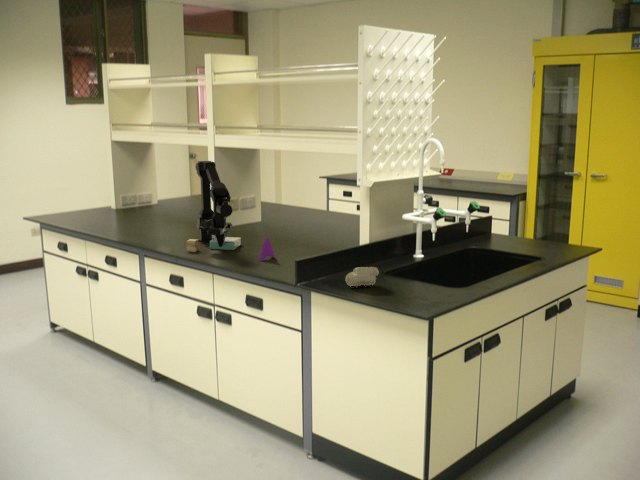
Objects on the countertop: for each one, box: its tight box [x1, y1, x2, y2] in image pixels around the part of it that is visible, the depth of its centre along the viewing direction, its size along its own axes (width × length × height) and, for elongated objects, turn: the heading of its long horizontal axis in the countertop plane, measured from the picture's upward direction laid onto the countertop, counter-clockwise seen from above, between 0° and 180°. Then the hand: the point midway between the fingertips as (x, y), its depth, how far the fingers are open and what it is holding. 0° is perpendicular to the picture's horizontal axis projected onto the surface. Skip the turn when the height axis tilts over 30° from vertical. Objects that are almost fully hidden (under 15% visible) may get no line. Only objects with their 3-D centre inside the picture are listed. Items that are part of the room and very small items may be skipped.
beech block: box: [186, 238, 199, 253], centre depth 280 cm, size 4×4×5 cm
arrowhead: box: [258, 237, 276, 262], centre depth 264 cm, size 10×2×10 cm
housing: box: [209, 236, 242, 250], centre depth 290 cm, size 10×12×4 cm
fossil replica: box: [345, 266, 380, 287], centre depth 223 cm, size 12×8×10 cm
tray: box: [209, 241, 235, 251], centre depth 289 cm, size 10×12×3 cm
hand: (220, 246), depth 283 cm, fingers closed
